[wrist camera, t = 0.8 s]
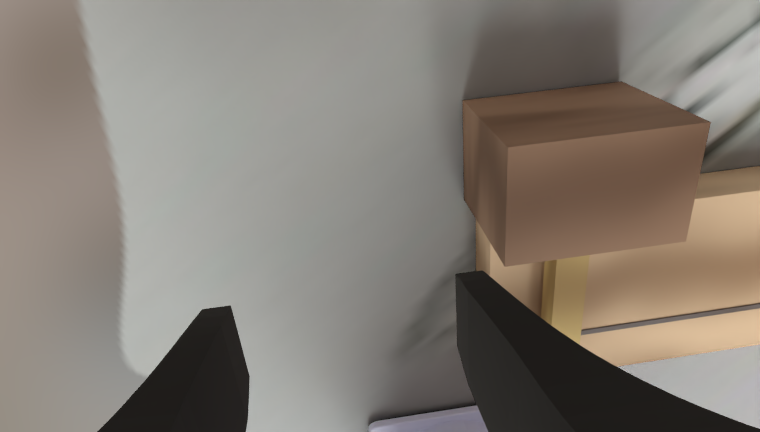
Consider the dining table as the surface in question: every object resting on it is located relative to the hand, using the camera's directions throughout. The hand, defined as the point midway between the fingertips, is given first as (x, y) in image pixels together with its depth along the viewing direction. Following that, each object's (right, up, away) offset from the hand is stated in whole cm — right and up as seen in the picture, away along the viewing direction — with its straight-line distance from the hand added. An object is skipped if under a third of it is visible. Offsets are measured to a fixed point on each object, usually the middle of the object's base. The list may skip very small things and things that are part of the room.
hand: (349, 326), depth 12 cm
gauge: (+7, +2, +10) cm, 13 cm away
